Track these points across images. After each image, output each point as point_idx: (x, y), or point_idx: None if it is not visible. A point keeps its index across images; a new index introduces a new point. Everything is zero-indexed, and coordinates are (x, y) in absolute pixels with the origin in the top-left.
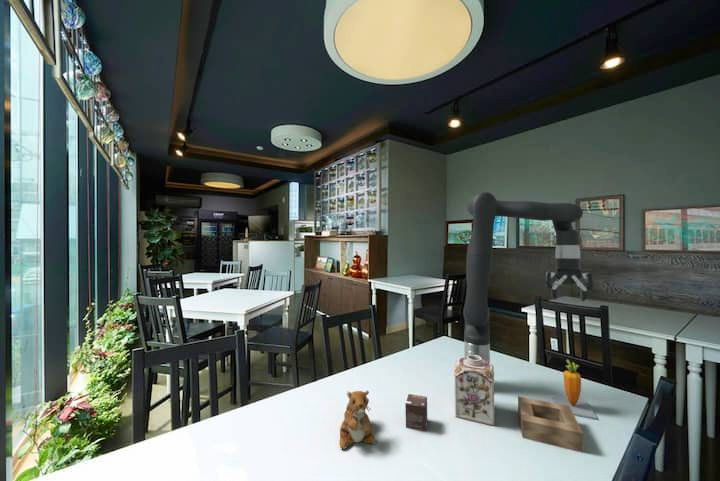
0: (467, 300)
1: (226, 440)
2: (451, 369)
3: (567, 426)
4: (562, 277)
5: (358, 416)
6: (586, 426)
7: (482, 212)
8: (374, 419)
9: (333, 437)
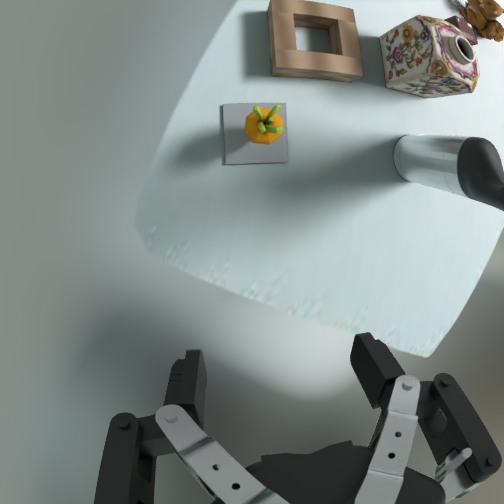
0: None
1: None
2: (444, 214)
3: (290, 6)
4: (397, 481)
5: (482, 4)
6: (246, 74)
7: None
8: None
9: None
